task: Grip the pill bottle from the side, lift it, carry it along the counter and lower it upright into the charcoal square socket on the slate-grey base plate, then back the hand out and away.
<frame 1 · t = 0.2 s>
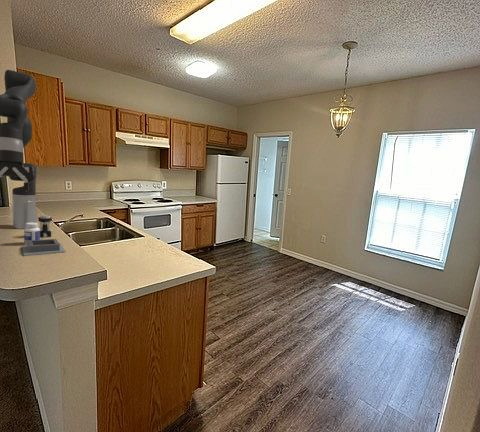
hand: (11, 191, 104), 22 cm above the countertop, tool pointing down, fingers open, 8 cm apart
pill bottle: (32, 244, 111), on the countertop
socket: (43, 249, 105), on the countertop
push button: (43, 237, 123), on the countertop
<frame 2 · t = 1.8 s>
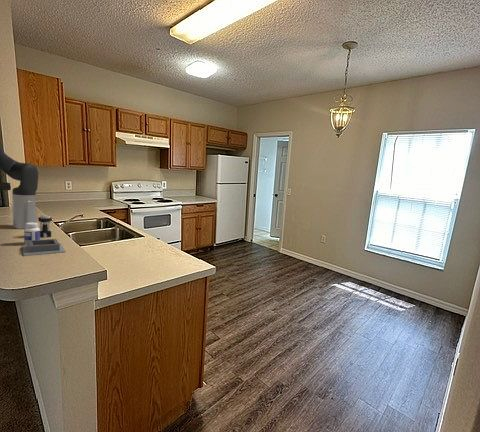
hand: (10, 186, 103), 24 cm above the countertop, tool horizontal, fingers open, 8 cm apart
nothing on the countertop moved.
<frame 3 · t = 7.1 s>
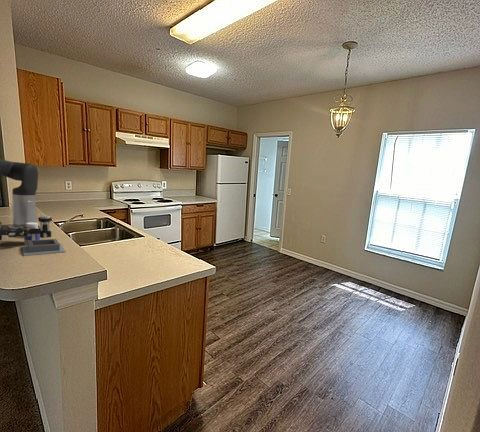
hand: (39, 229, 112), 6 cm above the countertop, tool horizontal, fingers closed on pill bottle, 5 cm apart
pill bottle: (32, 243, 111), on the countertop, touching gripper
everything else where it was.
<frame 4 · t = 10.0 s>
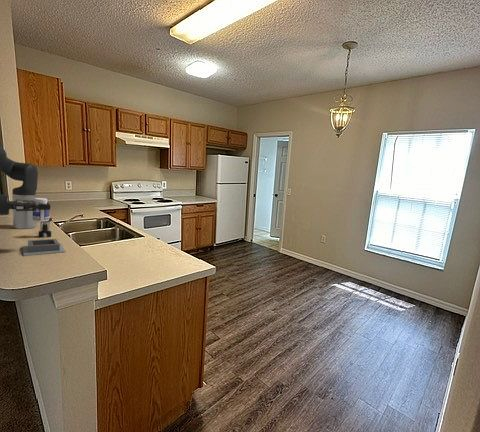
hand: (49, 205, 105), 18 cm above the countertop, tool horizontal, fingers closed on pill bottle, 5 cm apart
pill bottle: (40, 221, 104), point 12 cm above the countertop, touching gripper
everything else where it was.
when the fingers open (9 cm above the countertop, at t = 12.8 s): pill bottle drops 2 cm, resting on socket.
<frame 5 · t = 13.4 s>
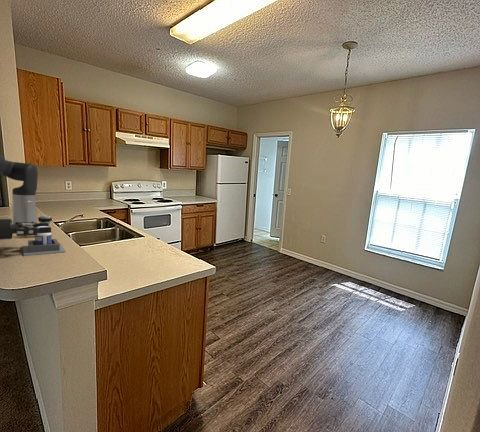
hand: (49, 227, 105), 9 cm above the countertop, tool horizontal, fingers open, 8 cm apart
pill bottle: (43, 249, 105), resting on socket
everything else where it was.
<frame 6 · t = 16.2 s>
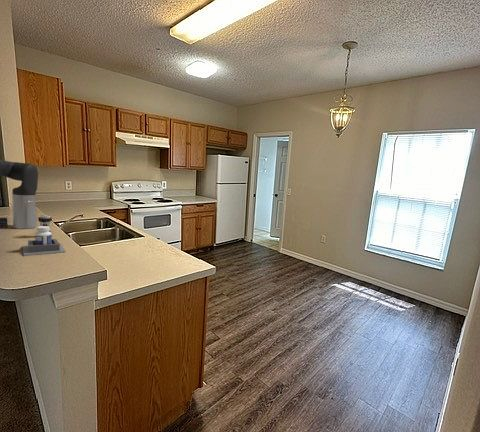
hand: (7, 222, 97), 11 cm above the countertop, tool horizontal, fingers open, 8 cm apart
nothing on the countertop moved.
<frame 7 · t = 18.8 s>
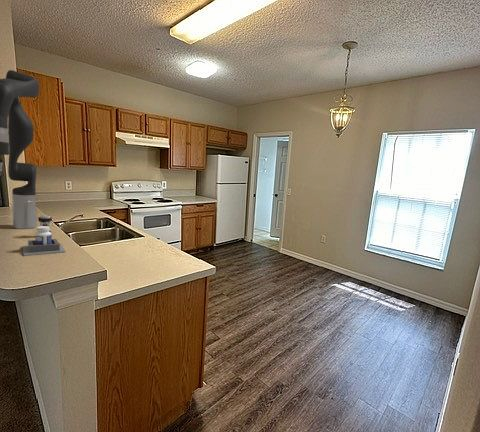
nothing on the countertop moved.
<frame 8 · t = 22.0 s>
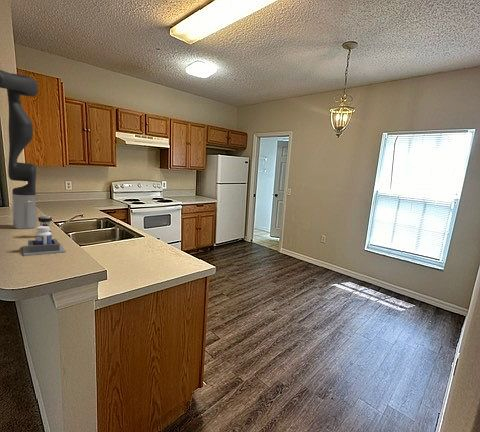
nothing on the countertop moved.
at the end: pill bottle 0.2 cm off-centre on the socket, point 0.3 cm above the socket's base; pill bottle tilted 0°; the gripper is holding nothing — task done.
